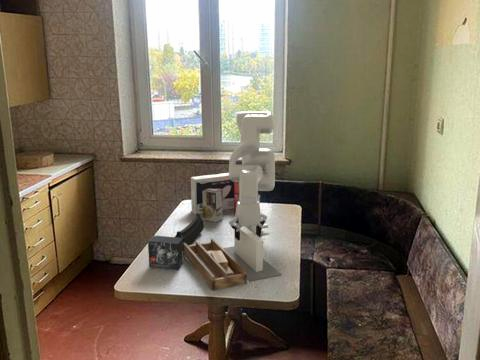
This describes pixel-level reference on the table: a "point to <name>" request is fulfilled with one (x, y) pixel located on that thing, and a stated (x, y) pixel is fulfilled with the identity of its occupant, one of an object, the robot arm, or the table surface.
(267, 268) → the mat
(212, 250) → the offcut long
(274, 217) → the table surface
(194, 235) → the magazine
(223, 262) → the offcut short
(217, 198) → the coffee box
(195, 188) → the packaging
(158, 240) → the small box
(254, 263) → the cream rectangular panel
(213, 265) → the rack
